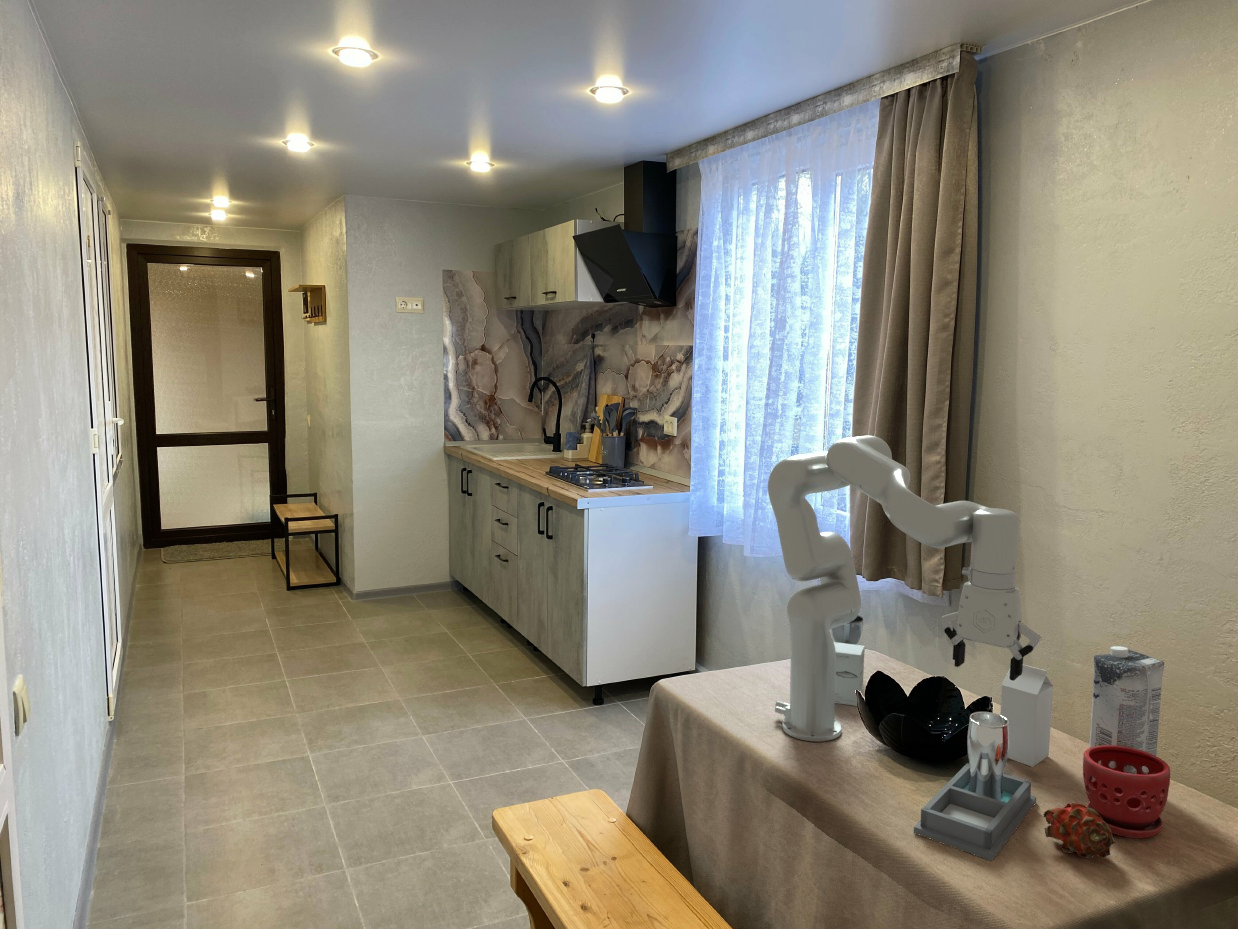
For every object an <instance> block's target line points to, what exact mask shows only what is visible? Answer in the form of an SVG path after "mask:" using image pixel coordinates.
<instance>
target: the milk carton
mask: <svg viewBox="0 0 1238 929" xmlns="http://www.w3.org/2000/svg"><path fill="white" fill-rule="evenodd" d="M1047 674H1048V673H1047V670H1046V669H1042V668H1038V667H1036V666H1035V667H1034V666H1030V665H1027V664H1024V663H1023V669H1022V674H1021V676H1019V677H1018V678H1016V679H1015V680H1014V681H1012V680H1010V679H1009V677H1010V668H1009V669H1008V672H1007V673H1006V675H1005V678H1004V679H1003V681H1002V684H1001V694H1000V695H1001V696H1000V699H1001V700H1000V713H999V715H1002V716H1004V717H1005V718H1007V719H1008V720H1009V752H1008V758H1007V759H1009V760H1013V761H1015V762H1017V763H1021V764H1024V765H1026V766H1029V767H1035V766H1036V765H1037V764H1039V763H1041V762H1042V761H1044V760H1045V759H1046V758H1048V757H1049V754H1050V742H1051V726H1052V723H1051V722H1052V711H1053V710H1052V709H1053V708H1052V707H1053V695H1054V694H1053V691H1054V685H1053V684H1052V682H1051V680H1050V679H1049V678H1048V676H1047Z"/></svg>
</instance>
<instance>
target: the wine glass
mask: <svg viewBox="0 0 1238 929" xmlns="http://www.w3.org/2000/svg"><path fill="white" fill-rule="evenodd" d="M863 630H864V617H863V616H861V615H859V614H858V616H857V617H856V618H855V619H854V620H853V621H851V622H849V623H846V624H843V625H840V626H837V627H834V628H832V629H830V634H831V638H832V640H833V642H837V643H845V644H853V645H858V643H859V642H860V640H861V639H862V635H863Z"/></svg>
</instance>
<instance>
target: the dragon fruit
mask: <svg viewBox="0 0 1238 929" xmlns="http://www.w3.org/2000/svg"><path fill="white" fill-rule="evenodd" d="M1041 816H1042V815H1040V817H1041ZM1043 818H1045V822H1046V823H1047V825H1048V826H1046V827H1044V834H1045V837H1046V838H1052V839H1056V840H1058V841H1059V840H1060V841H1061V842H1062V843H1061V849H1062V851H1063V852H1065V853H1066V854H1069V853H1070V854H1072V853H1073V852H1076V853H1077V855H1078V856H1079V857H1082V858H1085V859H1092V858H1093V857H1094V856H1097V857H1100V858H1105V857H1106V858H1107V857H1109V856H1111V851H1110V850H1111V846H1112V845H1114V844H1116V841H1115V840H1114V838H1113V837H1114V836H1113V833H1112V831H1111V829H1110V828H1109V826H1108V825H1107V823H1106V822H1105V821H1103V819H1102V817H1101V816H1100V815H1099V814H1098V813H1097V812H1096V811H1095V810H1094V809H1091V808H1087V805H1085V804H1082V803H1081V802H1080V803H1079V802H1074V801H1073V802H1070V803H1067V804H1066V805H1065V806H1064V807H1061V808H1060V807H1055V808H1052V809H1047V810H1045V811H1044V812H1043Z"/></svg>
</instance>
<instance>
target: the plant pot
mask: <svg viewBox="0 0 1238 929" xmlns="http://www.w3.org/2000/svg"><path fill="white" fill-rule="evenodd" d="M1099 761H1101V764H1100V765H1099V764H1098V762H1099ZM1111 761H1114V762H1116V766H1115V767H1114V768H1111V767H1110V766H1109V763H1110V762H1111ZM1127 765H1131V766H1133V767H1134V768H1135V769H1136V771H1137V774H1129V773H1125V772H1124V767H1125V766H1127ZM1143 766H1145V767H1147V768H1148V770H1149V772H1148V773H1144V772H1143V770H1142V767H1143ZM1092 776H1093V777H1094V779H1093V780H1092ZM1082 778H1083V784H1084V791H1085V794H1086V797H1087V799H1088V801H1089V803H1087V805H1086V807H1087V808H1091V809H1094V810H1095V811H1096V812H1097V813H1098V814H1099V815H1100V816H1101V817H1102V819H1103V821H1105V822H1106V823H1107V825H1108V826H1109V828H1110V829H1111V831H1112V834H1115V835H1118V836H1121V837H1126V838H1133V839H1147V838H1150V837H1153V836H1155V835H1158V833H1160V832H1161V831H1162V830H1163V827H1164V822H1163V820H1162V818H1161V814H1162V813H1163V811H1164V809H1165V807H1166V804H1167V802H1168V796H1169V790H1170V784H1171V783H1170V782H1171V768H1170V766H1169V764H1168V763H1167V762H1166V761H1164V760H1163V759H1162V758H1160V757H1159V756H1157V755H1156V756H1155V755H1152V754H1150V753H1148V752H1145V751H1141V750H1138V749H1134V748H1129V747H1123V746H1114V745H1102V746H1095V747H1091V748H1089V747H1088V748H1087V749H1086V750H1085V751H1084V752H1083V758H1082Z"/></svg>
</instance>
